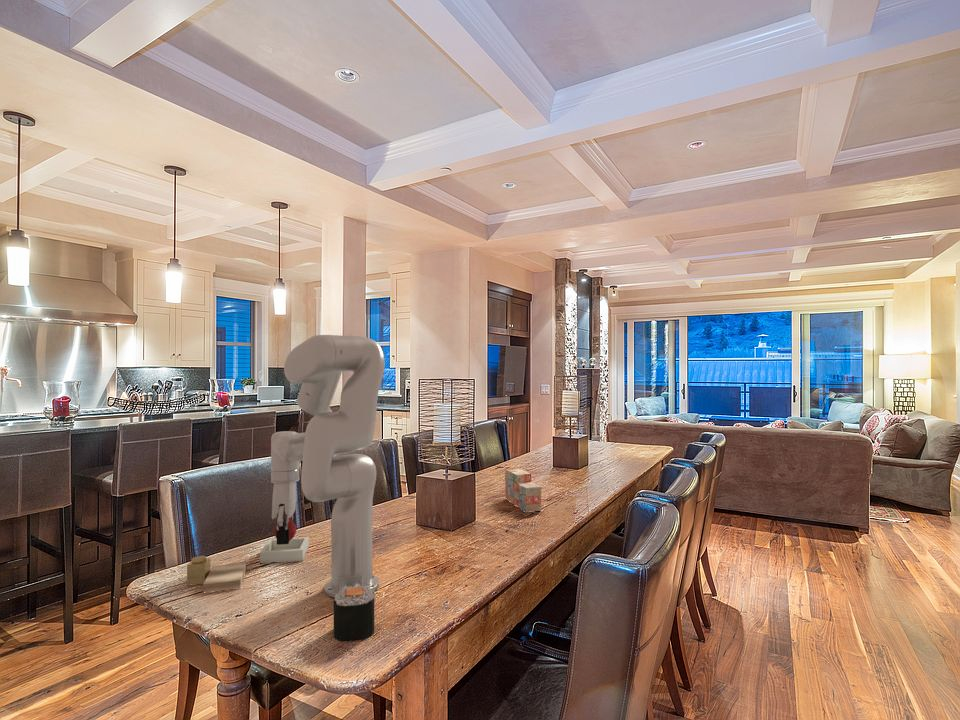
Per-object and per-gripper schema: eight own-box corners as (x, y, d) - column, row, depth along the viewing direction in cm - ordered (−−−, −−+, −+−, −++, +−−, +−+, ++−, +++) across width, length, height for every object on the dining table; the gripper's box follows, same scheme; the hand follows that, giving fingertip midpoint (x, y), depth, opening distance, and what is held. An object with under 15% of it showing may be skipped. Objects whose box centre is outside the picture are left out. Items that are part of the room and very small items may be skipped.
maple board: (240, 590, 124) (240, 579, 124) (203, 595, 121) (203, 584, 121) (246, 571, 135) (246, 562, 135) (212, 575, 133) (212, 566, 133)
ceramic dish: (302, 561, 141) (302, 549, 141) (259, 563, 139) (259, 552, 139) (308, 547, 152) (308, 537, 152) (269, 549, 150) (269, 539, 150)
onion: (300, 541, 148) (300, 513, 148) (287, 547, 142) (287, 518, 142) (282, 539, 149) (282, 511, 149) (269, 546, 144) (269, 517, 144)
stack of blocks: (541, 512, 188) (541, 478, 188) (525, 513, 186) (525, 479, 186) (519, 498, 208) (519, 467, 208) (505, 499, 206) (504, 468, 206)
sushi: (331, 644, 98) (331, 601, 98) (335, 623, 106) (335, 584, 107) (375, 639, 100) (375, 598, 100) (375, 619, 108) (375, 580, 108)
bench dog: (204, 584, 126) (204, 560, 126) (187, 585, 125) (187, 561, 125) (210, 577, 130) (210, 554, 130) (193, 579, 129) (193, 555, 129)
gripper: (277, 470, 154) (277, 531, 153) (264, 483, 137) (263, 551, 136) (304, 469, 155) (304, 529, 155) (293, 481, 138) (293, 549, 138)
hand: (285, 539), depth 146 cm, fingers closed on onion, 5 cm apart
